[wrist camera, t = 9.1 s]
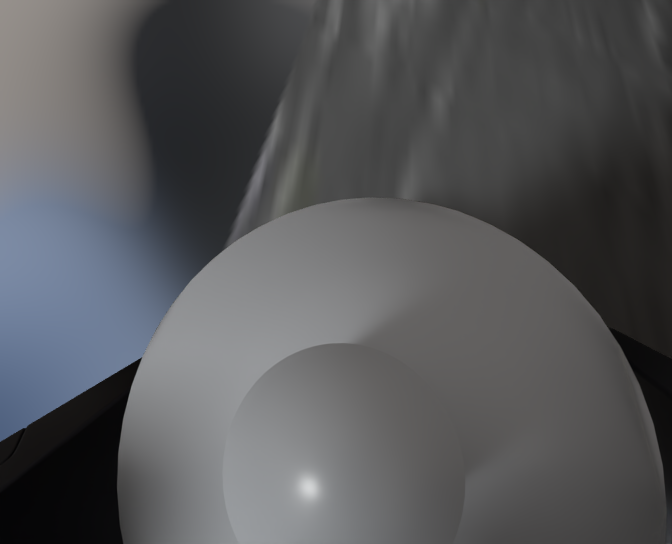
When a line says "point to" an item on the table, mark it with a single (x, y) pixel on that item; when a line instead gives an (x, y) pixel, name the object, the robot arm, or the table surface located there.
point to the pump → (386, 395)
